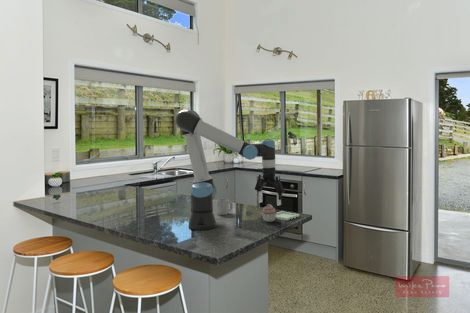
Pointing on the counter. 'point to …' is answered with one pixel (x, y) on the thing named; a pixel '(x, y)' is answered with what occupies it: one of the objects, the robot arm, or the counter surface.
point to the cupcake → (268, 213)
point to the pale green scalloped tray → (285, 215)
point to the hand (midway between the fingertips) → (269, 203)
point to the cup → (223, 206)
